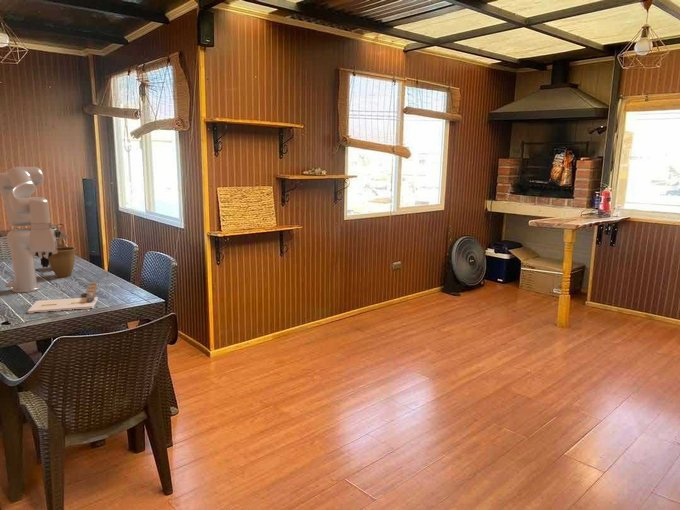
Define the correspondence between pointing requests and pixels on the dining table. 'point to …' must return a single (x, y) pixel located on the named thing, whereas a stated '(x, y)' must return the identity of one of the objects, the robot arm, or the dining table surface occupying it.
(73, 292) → the dining table surface
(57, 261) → the plant pot
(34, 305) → the label plate
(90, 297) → the bar
